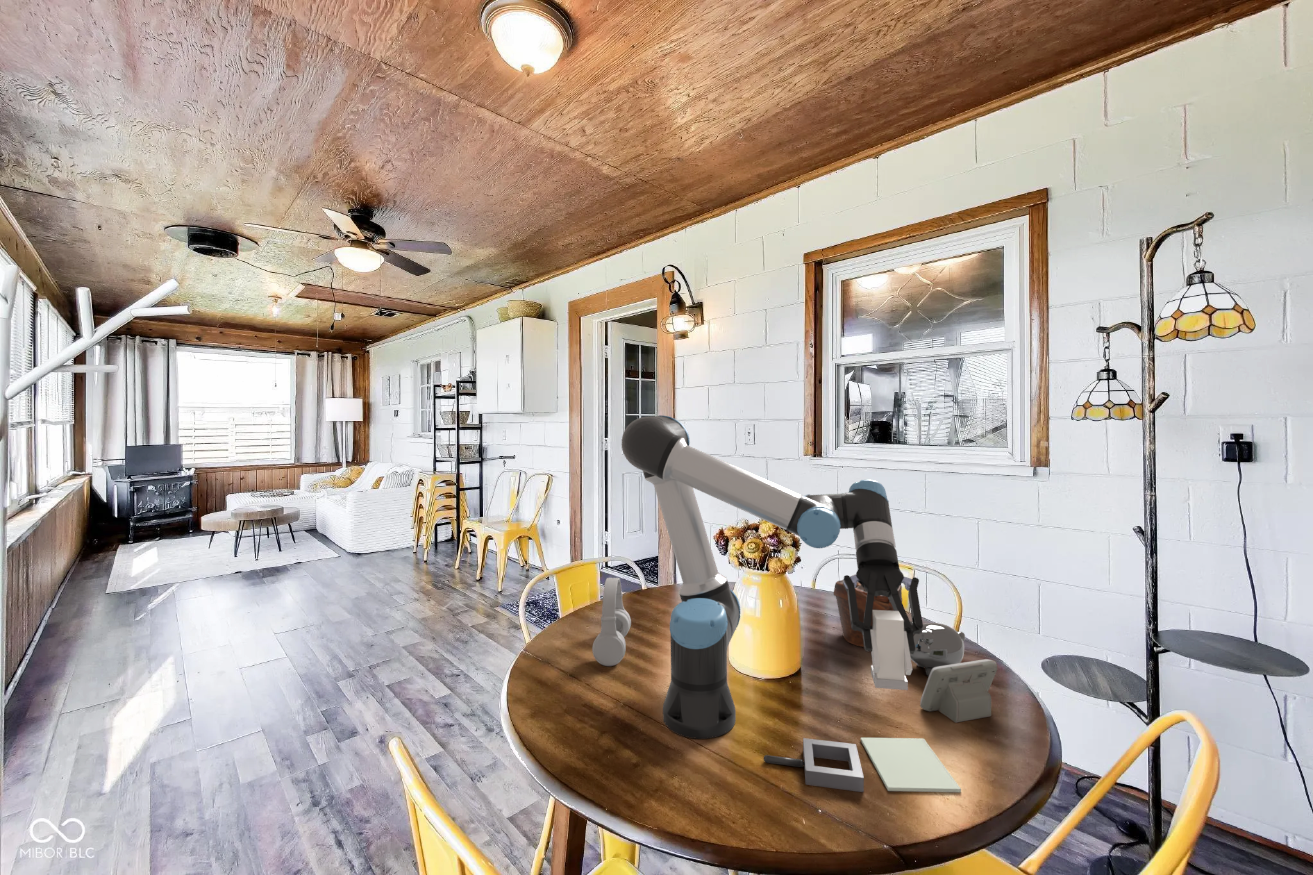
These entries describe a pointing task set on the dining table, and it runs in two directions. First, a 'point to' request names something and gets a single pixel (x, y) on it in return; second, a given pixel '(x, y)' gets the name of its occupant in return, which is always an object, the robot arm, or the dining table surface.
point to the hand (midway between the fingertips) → (892, 670)
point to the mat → (909, 765)
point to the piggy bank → (937, 646)
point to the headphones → (612, 626)
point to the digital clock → (960, 690)
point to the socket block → (825, 775)
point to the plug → (889, 650)
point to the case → (861, 597)
